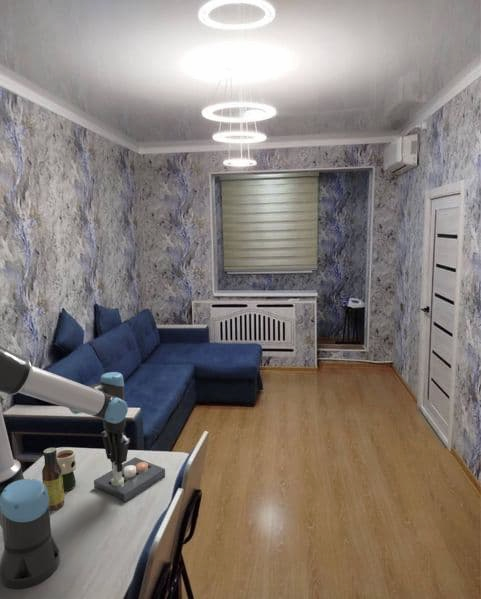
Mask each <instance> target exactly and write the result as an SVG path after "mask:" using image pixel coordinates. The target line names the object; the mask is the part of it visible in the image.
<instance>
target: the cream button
mask: <svg viewBox="0 0 481 599" xmlns="http://www.w3.org/2000/svg"><path fill="white" fill-rule="evenodd" d="M135 476H136V466H134V465H129V466H126V467H125V468H124V477H125V478H127V479H129V480H130V479H132V478H133V477H135Z"/></svg>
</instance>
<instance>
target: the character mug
mask: <svg viewBox="0 0 481 599" xmlns="http://www.w3.org/2000/svg"><path fill="white" fill-rule="evenodd" d="M56 457H57V461H58V463H59V465H60V467H61V469H62V478H63V488H64V491H65V490H71V489H74V488H75V487H76V477H75V473H74V471H75V470H76V468H77V462H76V451H75V450H73V449H71V448H70V449H69V448H67V449H65V448H64V449H61V450H57V453H56Z"/></svg>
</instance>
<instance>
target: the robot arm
mask: <svg viewBox="0 0 481 599" xmlns="http://www.w3.org/2000/svg"><path fill="white" fill-rule="evenodd" d="M0 393H5V394H7V395H10V396H13V395H16V394H18V393H19V394H22V395H25V396H28V397H32V398H35V399H38V400H41V401H43V402H48V403H50V404H54V405H56V406H57V405H58V406H60V407H64V408H67V409H69V411H70V413H72V414H74V415H77V414H86V415H89V416H92V417H94V418H98V419H101V420H103V421H102V422H103V429H104V431H102V432H100V435H101V437H102V441H103V445H104V450H105V455H106V458H107V460H110V462H111V471H112V470H113V480H114V481H118V480H119V479H121V478H122V464H124V463H126V462H127V459H128V452H129V444H130V442H131V438H130V437H127V436H126V432H125V427H126V425H127V422H126V421H127V420H126V417H127V414H128V410H129V407H128V404H127V402H126V401H125V381H124V376H123V374H122V373H121V372H118V371H111V372H106V373H104V374H102V375H101V376H100V382H97V383H95V384H92V385H85V384H82V383H79V382H77V381H74V380H71V379H69V378H66V377H64V376H61V375H58V374H55V373H53V372H50V371H48V370H45V369H42V368H40V367H37V366H34V365H32V364H31V361H30V360H29V359H26V358H24V357H21V356H19V355H17V354H15V353H13V352H12V351H10V350H8V349H6V348H5V347H3V346H2V345H0ZM3 415H4V414H3V409H2V406H1V405H0V527H1V529H2V539H3V547H4V548H3V552H2V555H1V561H0V583H1V584H2V585H3V586H4V587H7V588H9V589H25V588H29V587H32V586H35V585H38V584H40V583H41V582H43V581H45V580H46V579H48V578H50V576H52V574H54V572H55V571H56V570H57V569H58V567H59V565H60V562H61V558H60V557H61V556H60V550H59V547H58V545H57V543H56V541H55V539H54V537H53V536H52V531H51V529H52V528H51V514H50V510H49V495H48V492H47V488H46V486H45V485H44V484H43V481H42V480H38V479H35V478H34V479H30V478H24V473H23V469H22V464H21V462H20V461H19V460H17V459H14V456H13V453H12V449H11V445H10V440H9V436H8V431H7V428H6V424H5V419H4V416H3Z"/></svg>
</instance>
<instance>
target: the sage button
mask: <svg viewBox="0 0 481 599" xmlns="http://www.w3.org/2000/svg"><path fill="white" fill-rule="evenodd" d="M122 484H124V478H123V477H122V478H121V479H119V480H118V481H114V480H113V478H112V479H111V485H112V486H115V487H119V486H120V485H122Z"/></svg>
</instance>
